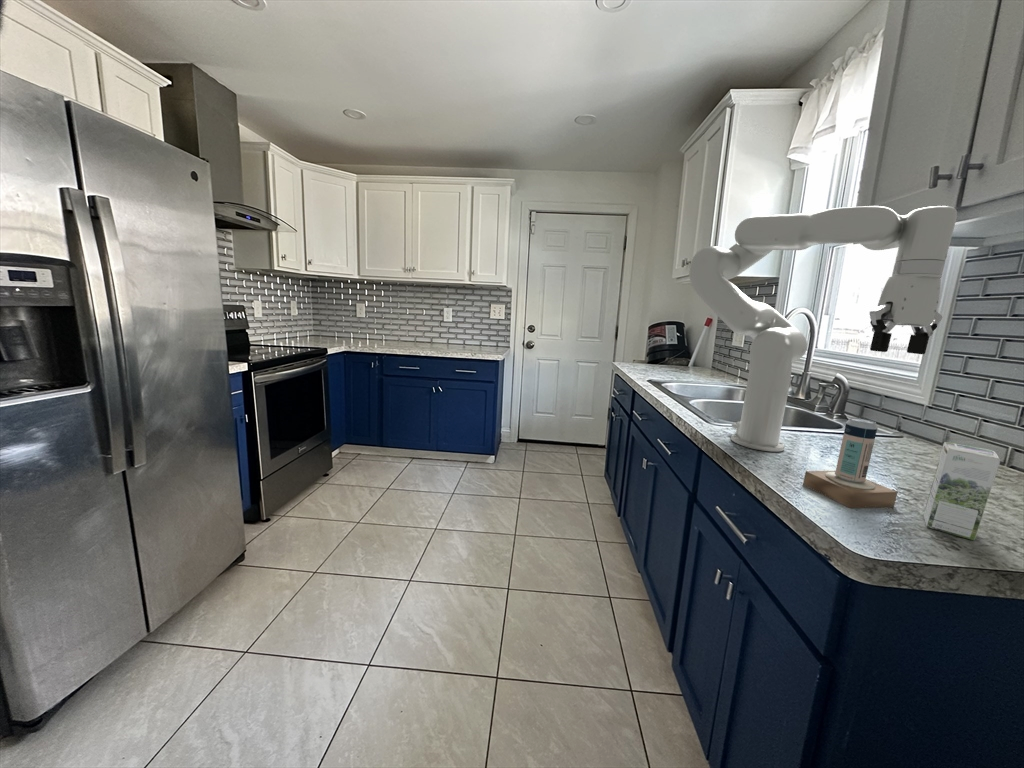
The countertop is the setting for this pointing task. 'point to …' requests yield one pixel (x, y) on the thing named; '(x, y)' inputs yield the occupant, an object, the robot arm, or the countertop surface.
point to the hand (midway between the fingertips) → (897, 352)
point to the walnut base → (850, 490)
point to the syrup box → (960, 489)
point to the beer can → (856, 450)
